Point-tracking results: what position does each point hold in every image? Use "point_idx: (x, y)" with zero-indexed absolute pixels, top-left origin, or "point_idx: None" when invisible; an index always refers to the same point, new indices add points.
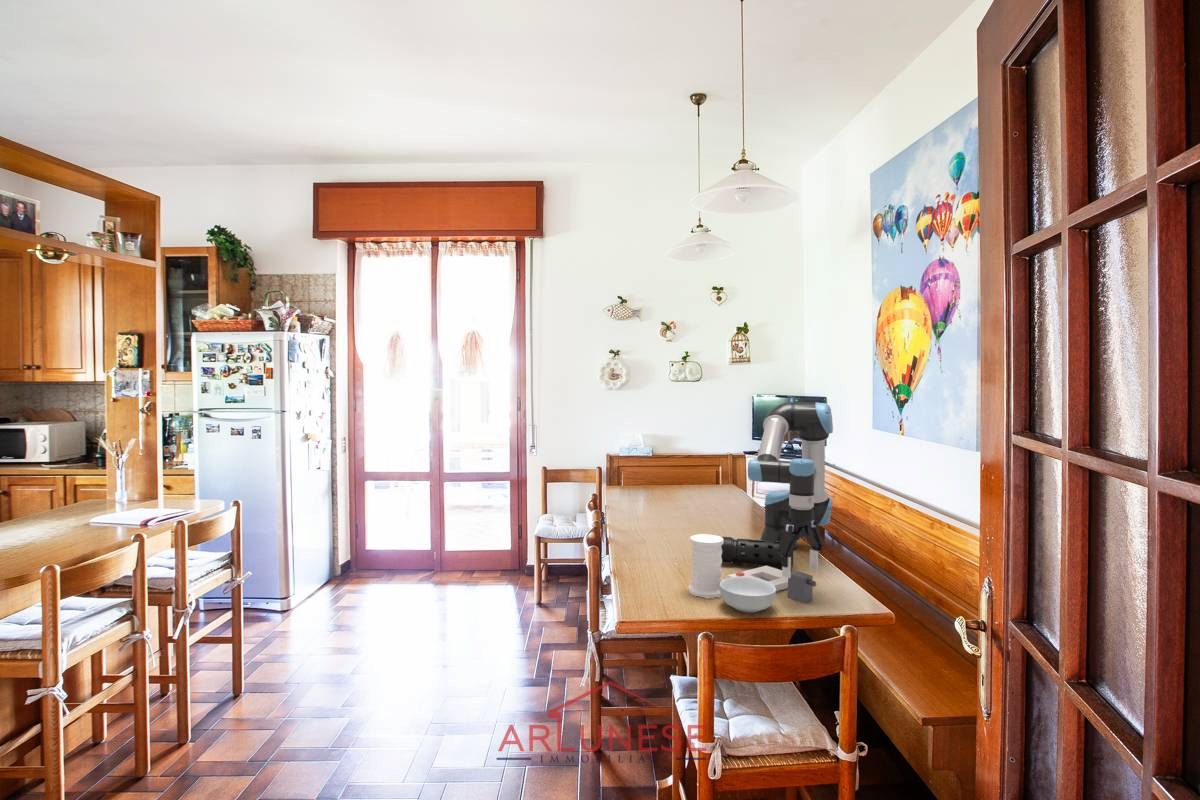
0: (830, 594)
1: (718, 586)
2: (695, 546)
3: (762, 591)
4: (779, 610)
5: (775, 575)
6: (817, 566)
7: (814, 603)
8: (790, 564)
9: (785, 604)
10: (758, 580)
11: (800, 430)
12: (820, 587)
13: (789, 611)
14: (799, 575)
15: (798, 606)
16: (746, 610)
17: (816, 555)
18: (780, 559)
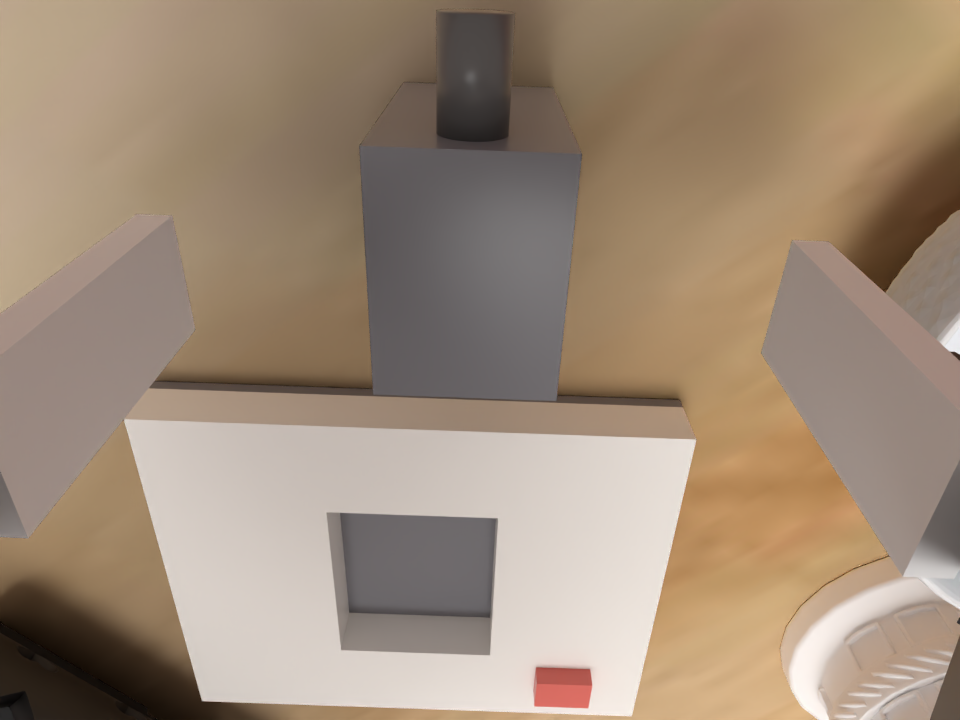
0: (85, 75)
1: (951, 626)
2: None
3: None
4: (917, 107)
5: (318, 563)
6: (116, 240)
7: (458, 8)
8: (898, 342)
9: (719, 174)
10: None
11: None
12: (42, 258)
13: (877, 24)
14: (517, 265)
15: (672, 59)
16: None
17: (29, 340)
18: (56, 709)
